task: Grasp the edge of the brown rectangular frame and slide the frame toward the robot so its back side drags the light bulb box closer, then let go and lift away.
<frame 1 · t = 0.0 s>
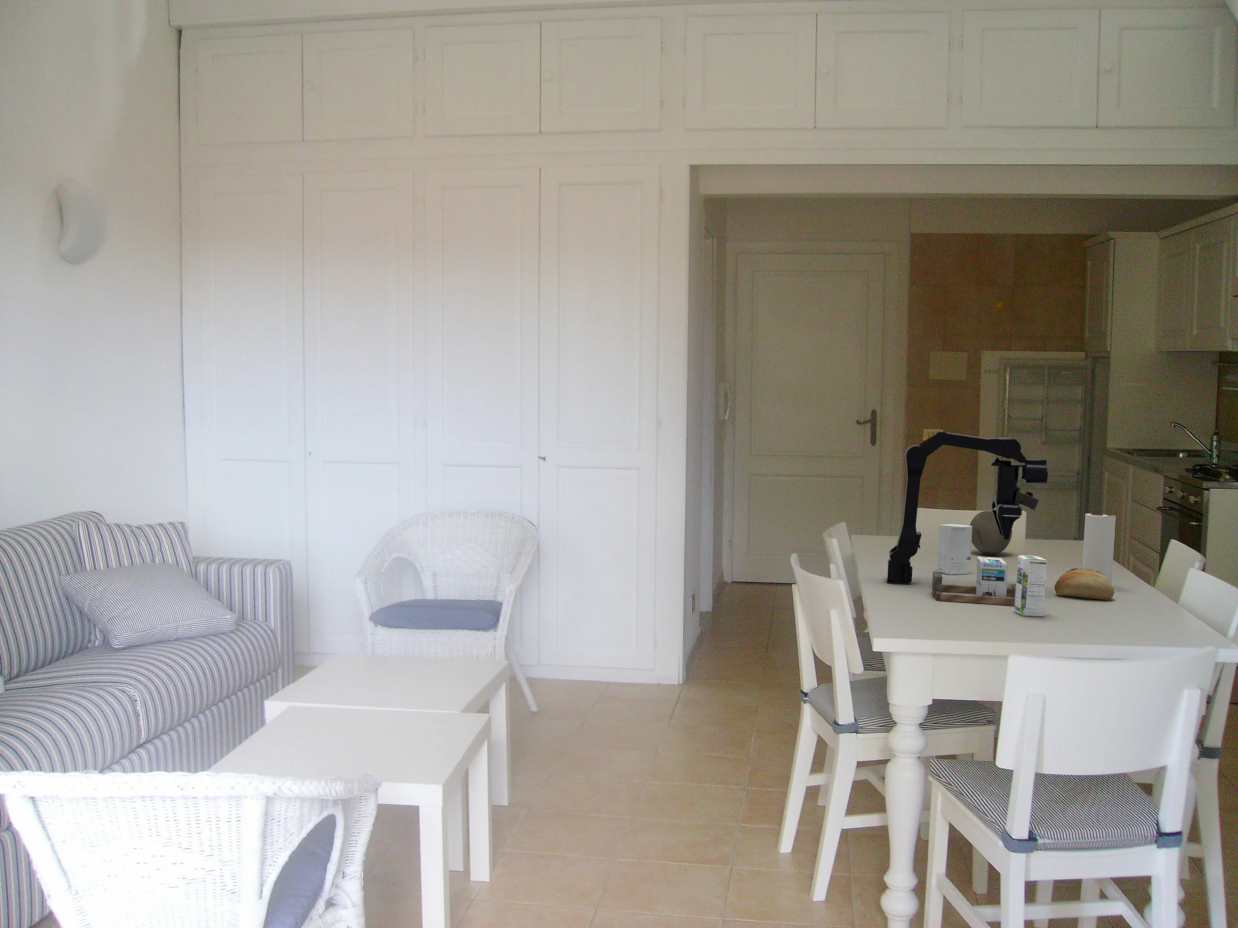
hand: (1004, 537, 301), 15 cm above the table, fingers open, 9 cm apart
brown rectangular frame: (976, 587, 287), point 3 cm above the table, slide at 0.0 cm
bread roll: (1083, 598, 293), on the table
paper towel roll: (1094, 588, 307), on the table
light bulb box: (990, 600, 287), resting in brown rectangular frame
skincare box: (953, 573, 327), on the table
syrup box: (1029, 614, 268), on the table
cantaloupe: (989, 555, 365), on the table
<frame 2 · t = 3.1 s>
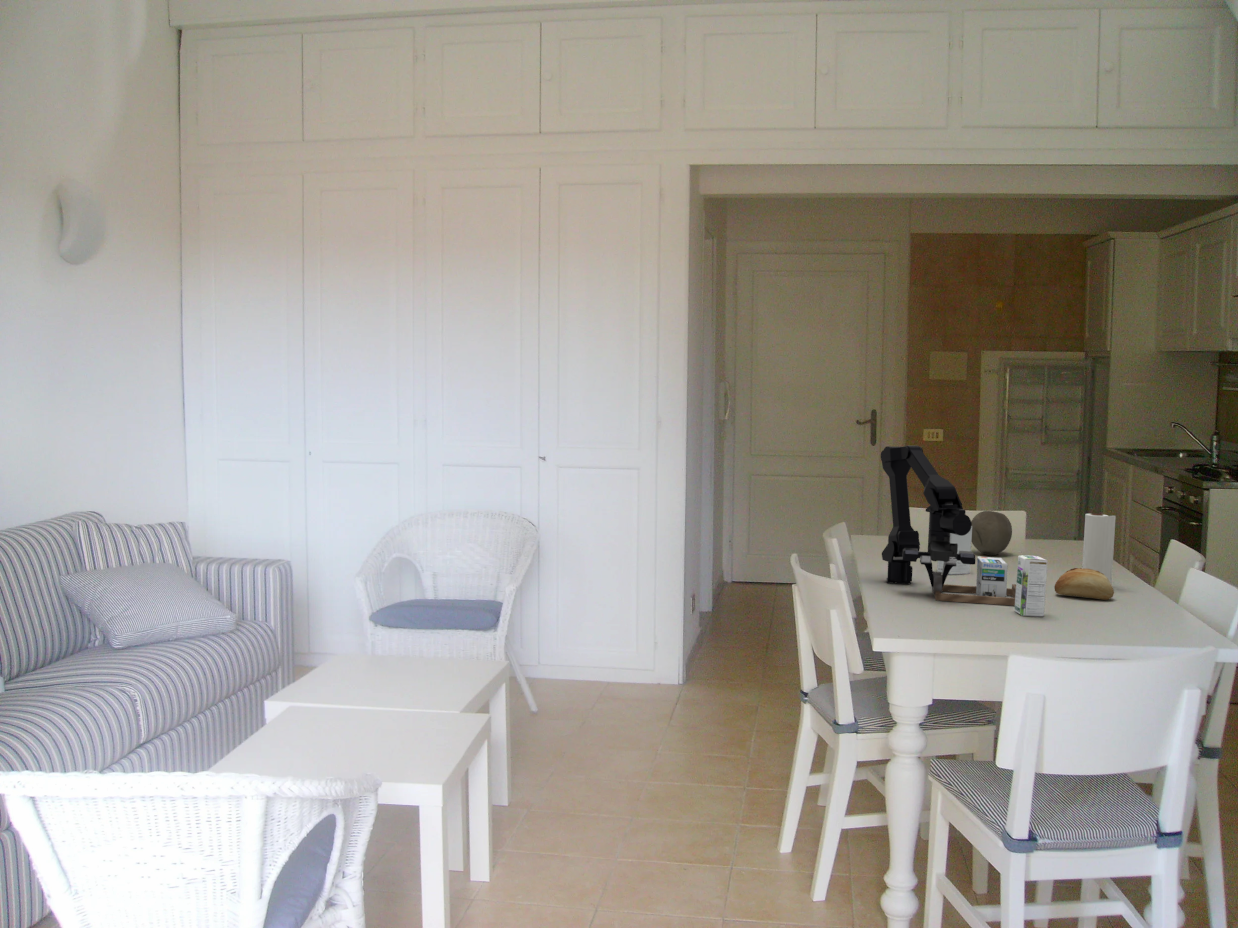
hand: (936, 587, 290), 2 cm above the table, fingers closed on brown rectangular frame, 2 cm apart
brown rectangular frame: (976, 587, 287), point 3 cm above the table, slide at 0.0 cm, touching gripper
everything else where it was.
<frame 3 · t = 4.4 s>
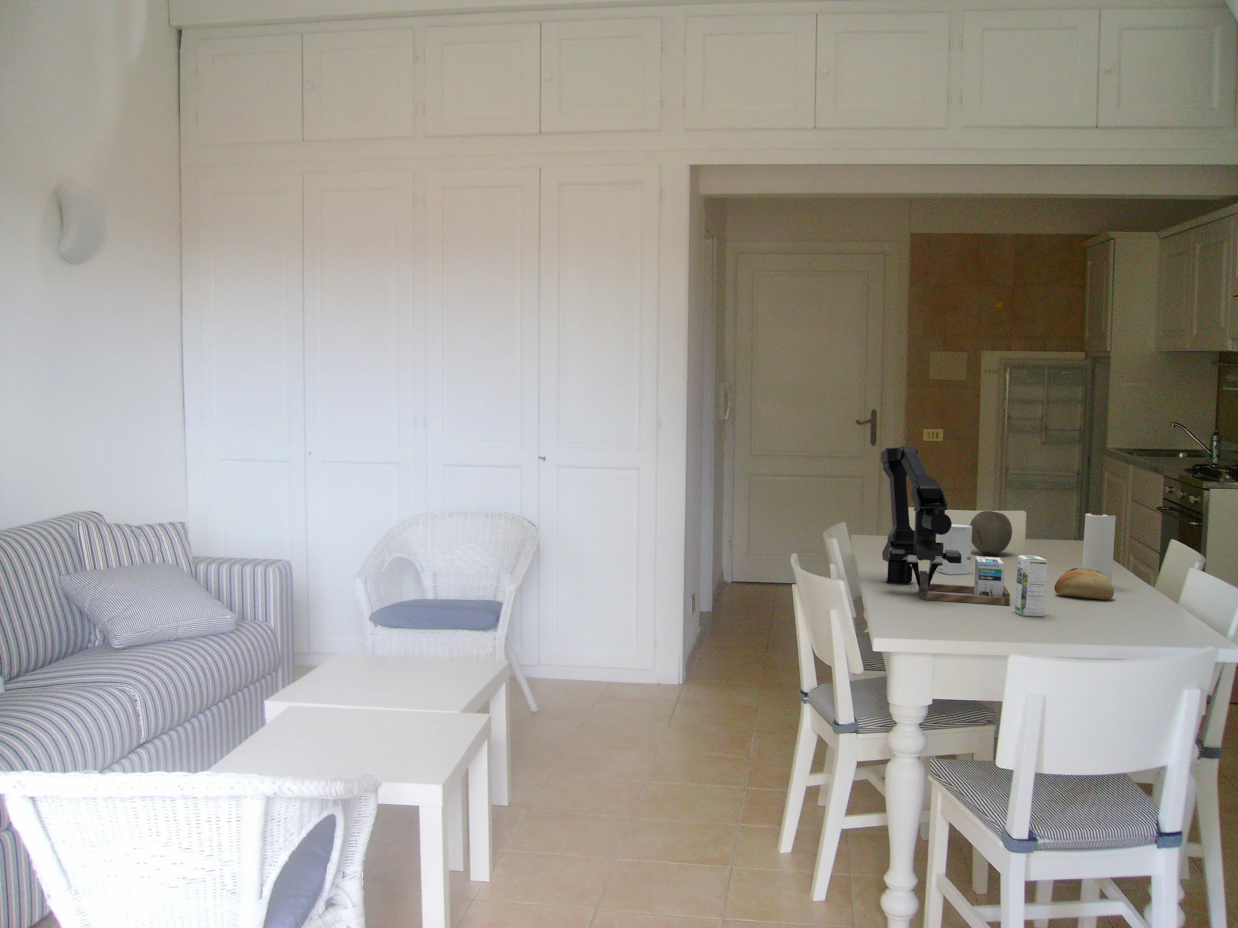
hand: (923, 586, 290), 2 cm above the table, fingers closed on brown rectangular frame, 2 cm apart
brown rectangular frame: (962, 586, 288), point 3 cm above the table, slide at 3.6 cm, touching gripper, light bulb box
light bulb box: (987, 599, 287), resting in brown rectangular frame
everything else where it was.
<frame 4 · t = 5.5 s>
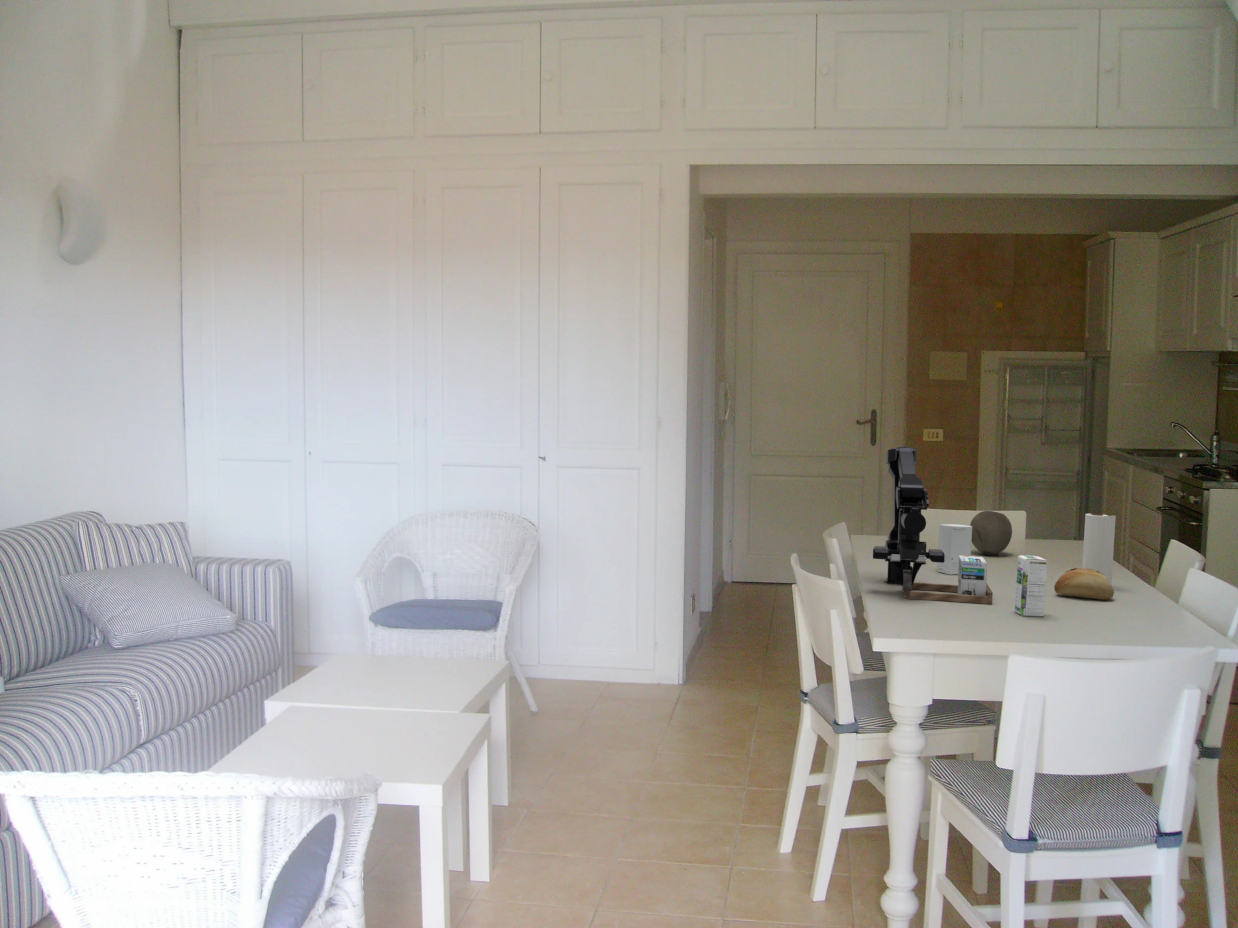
hand: (906, 585, 291), 2 cm above the table, fingers closed on brown rectangular frame, 2 cm apart
brown rectangular frame: (945, 585, 289), point 3 cm above the table, slide at 7.9 cm, touching gripper
light bulb box: (971, 598, 288), resting in brown rectangular frame
everything else where it was.
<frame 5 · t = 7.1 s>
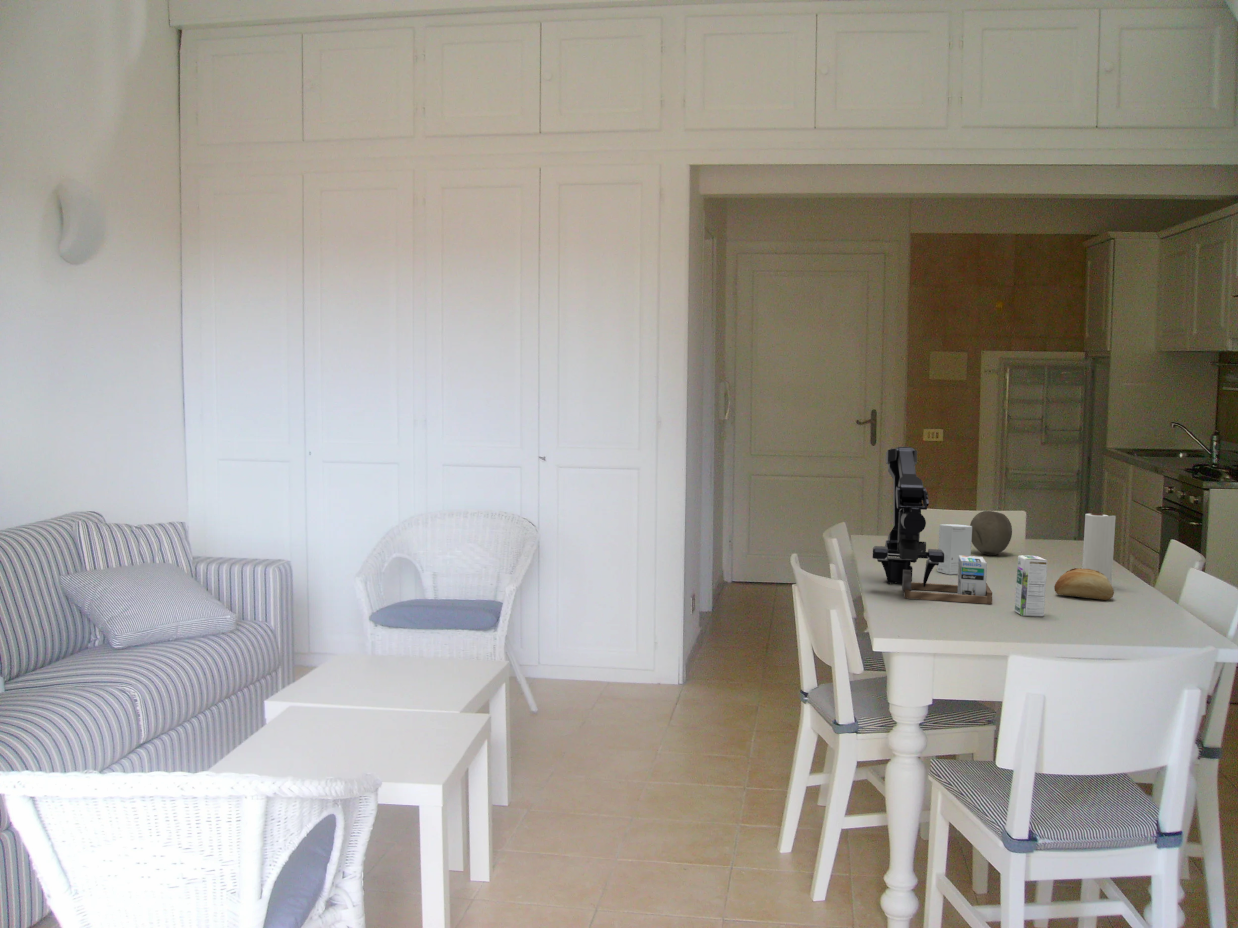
hand: (906, 585, 291), 2 cm above the table, fingers open, 9 cm apart
brown rectangular frame: (945, 585, 289), point 3 cm above the table, slide at 7.9 cm
everything else where it was.
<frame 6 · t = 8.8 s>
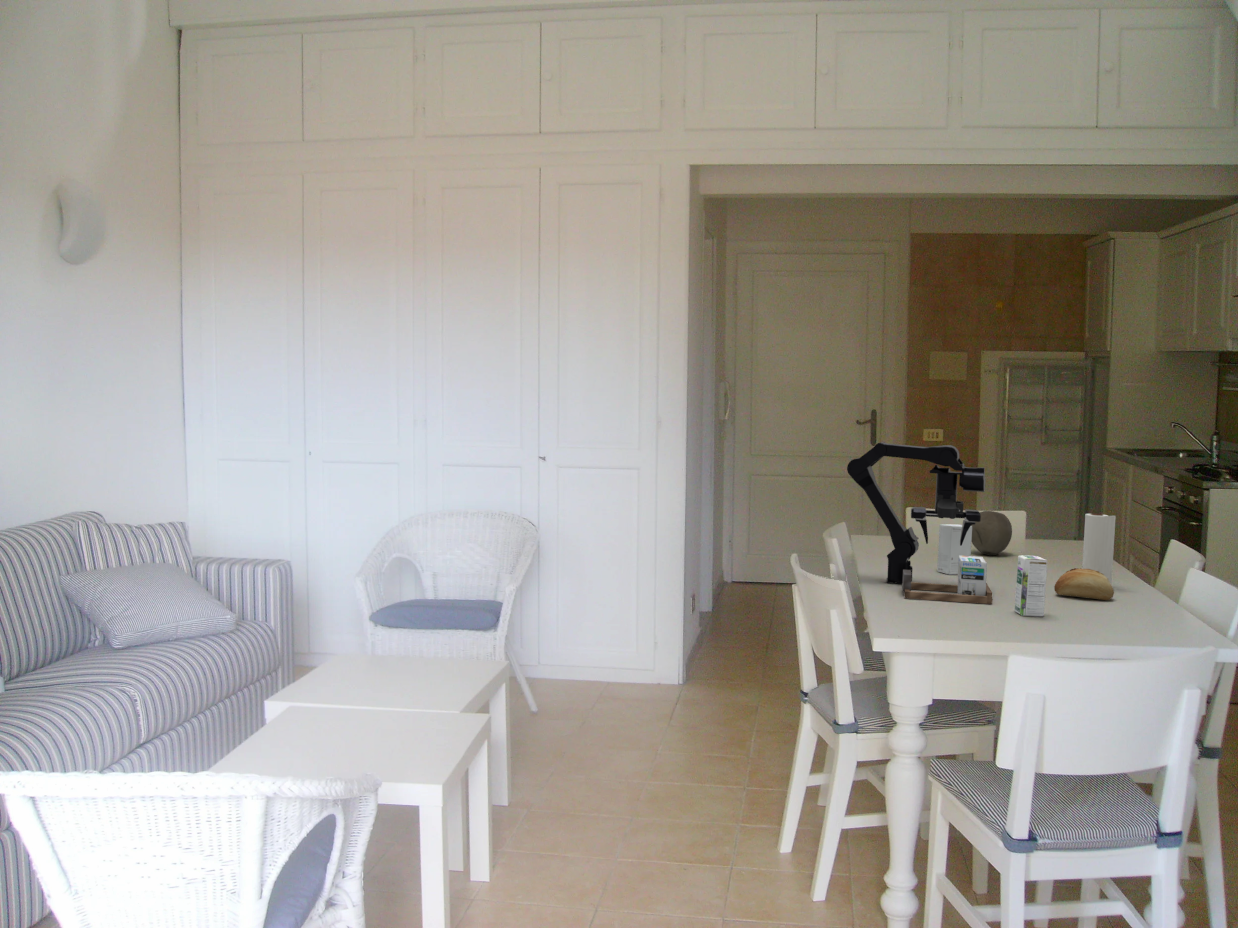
hand: (943, 544, 303), 12 cm above the table, fingers open, 9 cm apart
nothing on the table moved.
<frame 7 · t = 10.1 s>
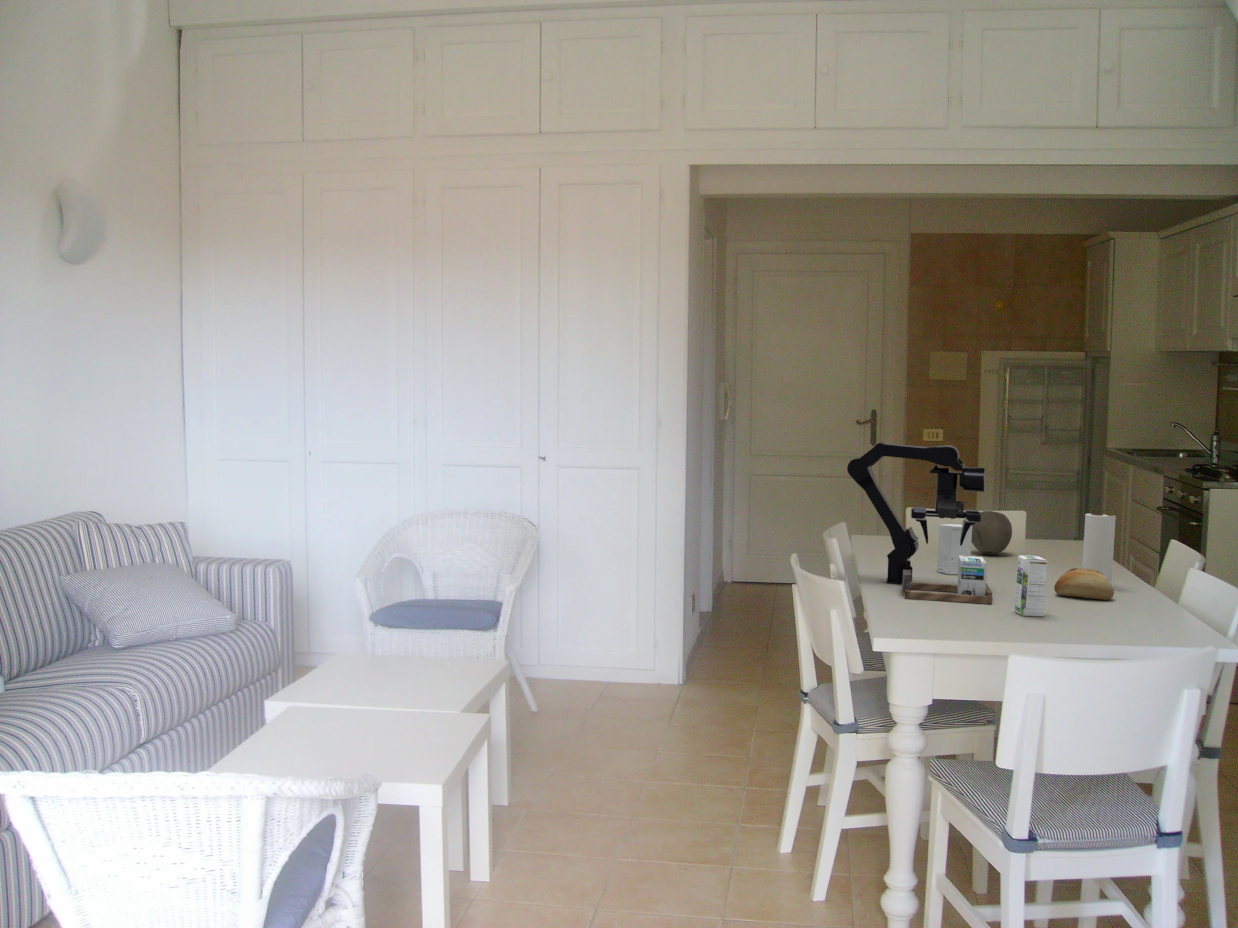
hand: (943, 544, 303), 12 cm above the table, fingers open, 9 cm apart
nothing on the table moved.
at the end: light bulb box inside the target area (1.0 cm from its centre), resting in brown rectangular frame; brown rectangular frame slide at 7.9 cm; light bulb box tilted 0° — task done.
